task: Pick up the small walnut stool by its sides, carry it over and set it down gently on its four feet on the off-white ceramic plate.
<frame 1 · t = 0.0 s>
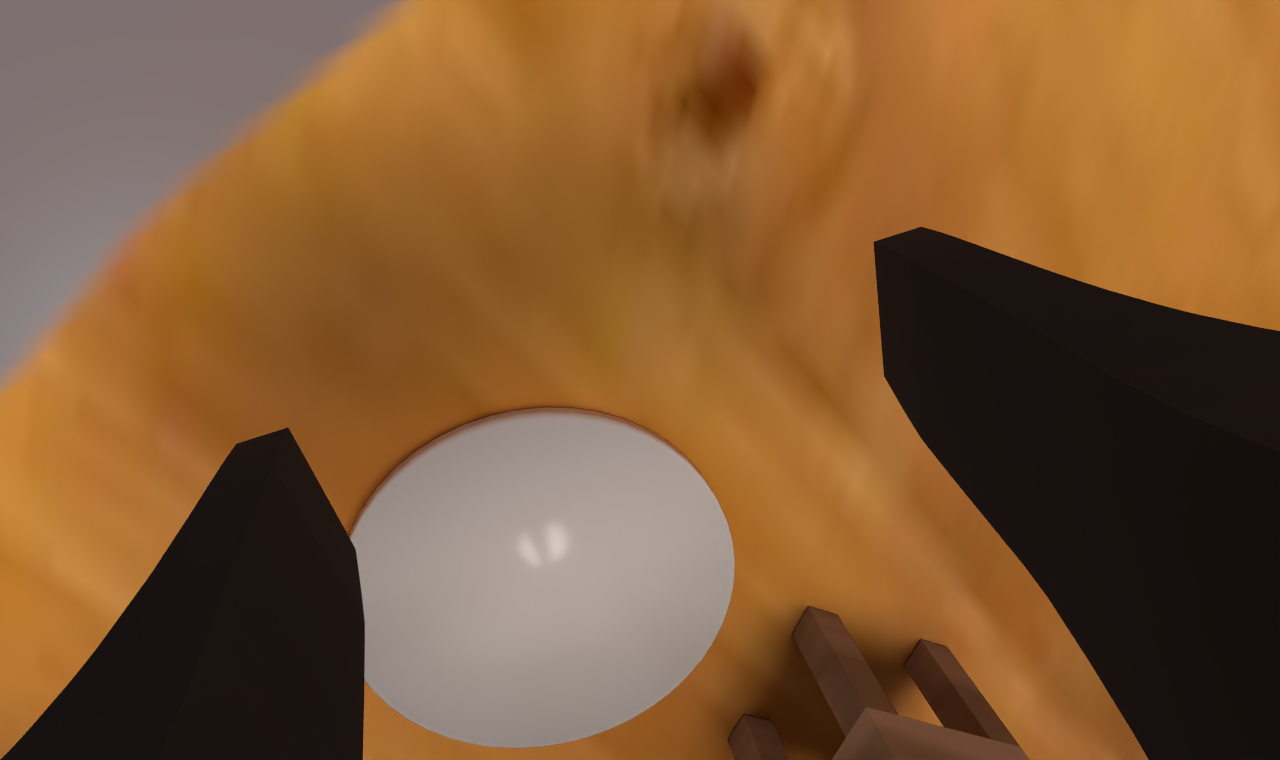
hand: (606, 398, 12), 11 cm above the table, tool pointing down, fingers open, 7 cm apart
plate: (541, 581, 26), on the table
stool: (838, 693, 29), on the table
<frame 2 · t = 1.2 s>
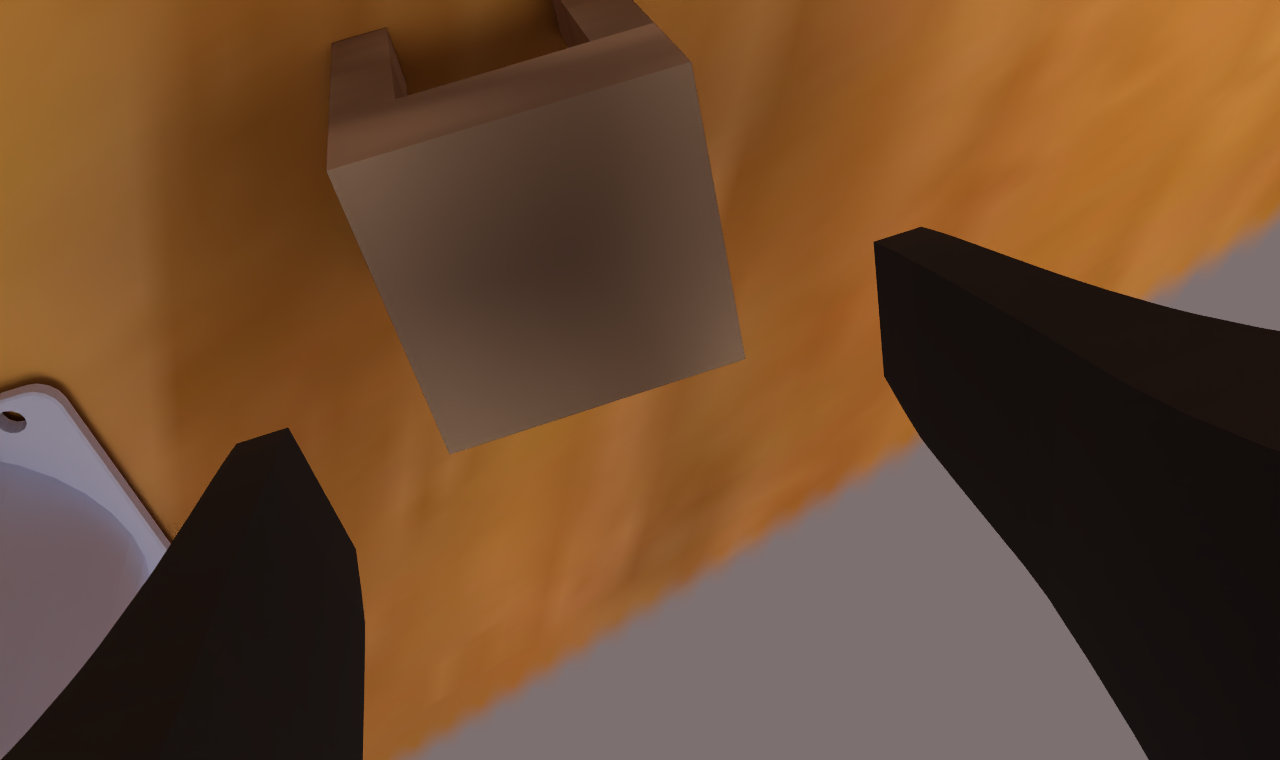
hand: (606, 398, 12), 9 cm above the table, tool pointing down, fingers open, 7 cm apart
stool: (506, 132, 19), on the table
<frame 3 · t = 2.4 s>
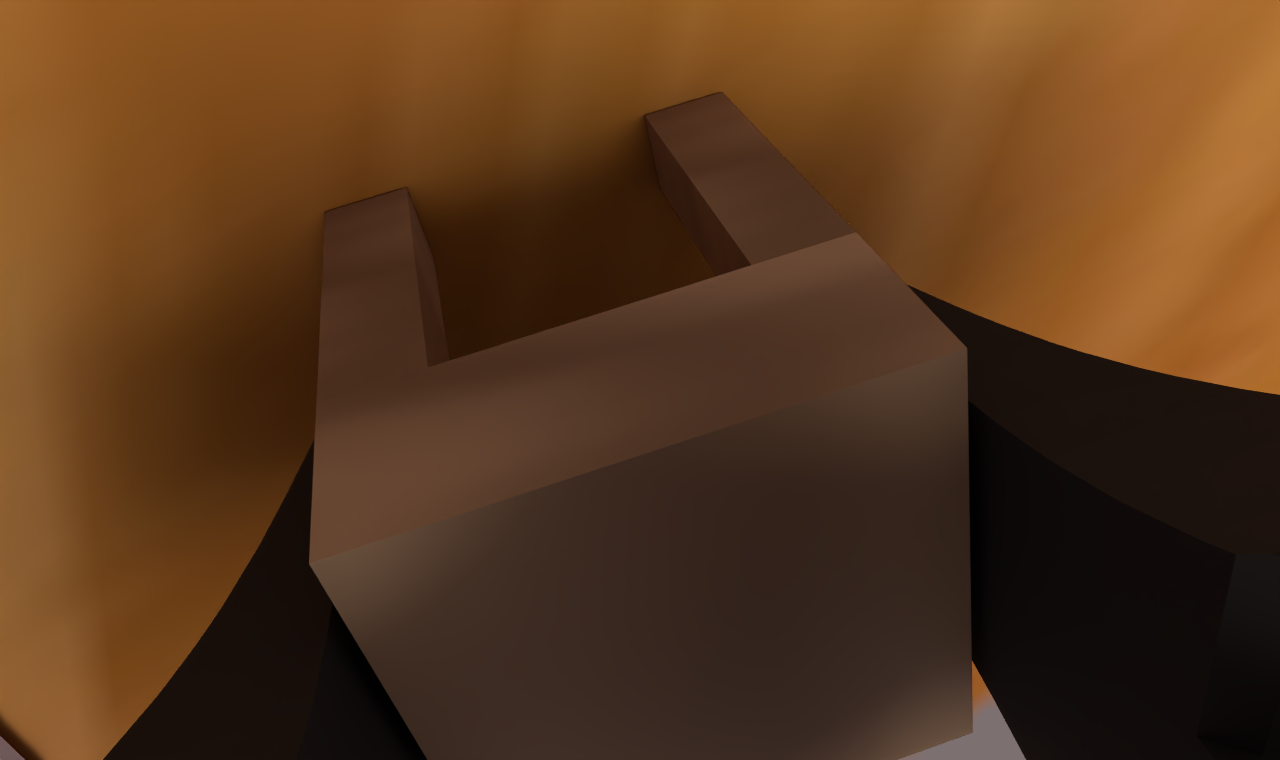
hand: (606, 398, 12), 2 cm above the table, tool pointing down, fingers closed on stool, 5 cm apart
stool: (577, 319, 13), on the table, touching gripper
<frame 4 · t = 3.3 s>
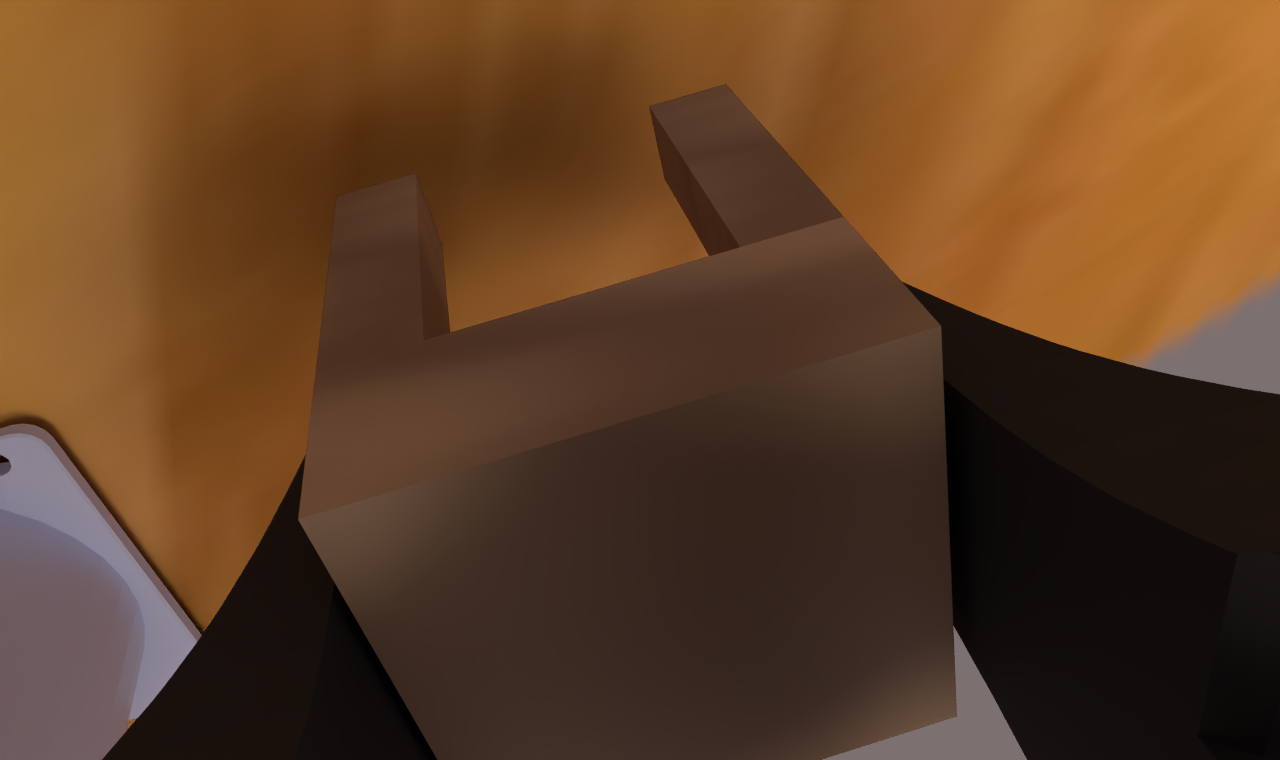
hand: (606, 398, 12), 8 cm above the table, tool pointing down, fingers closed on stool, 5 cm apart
stool: (582, 307, 14), point 5 cm above the table, touching gripper
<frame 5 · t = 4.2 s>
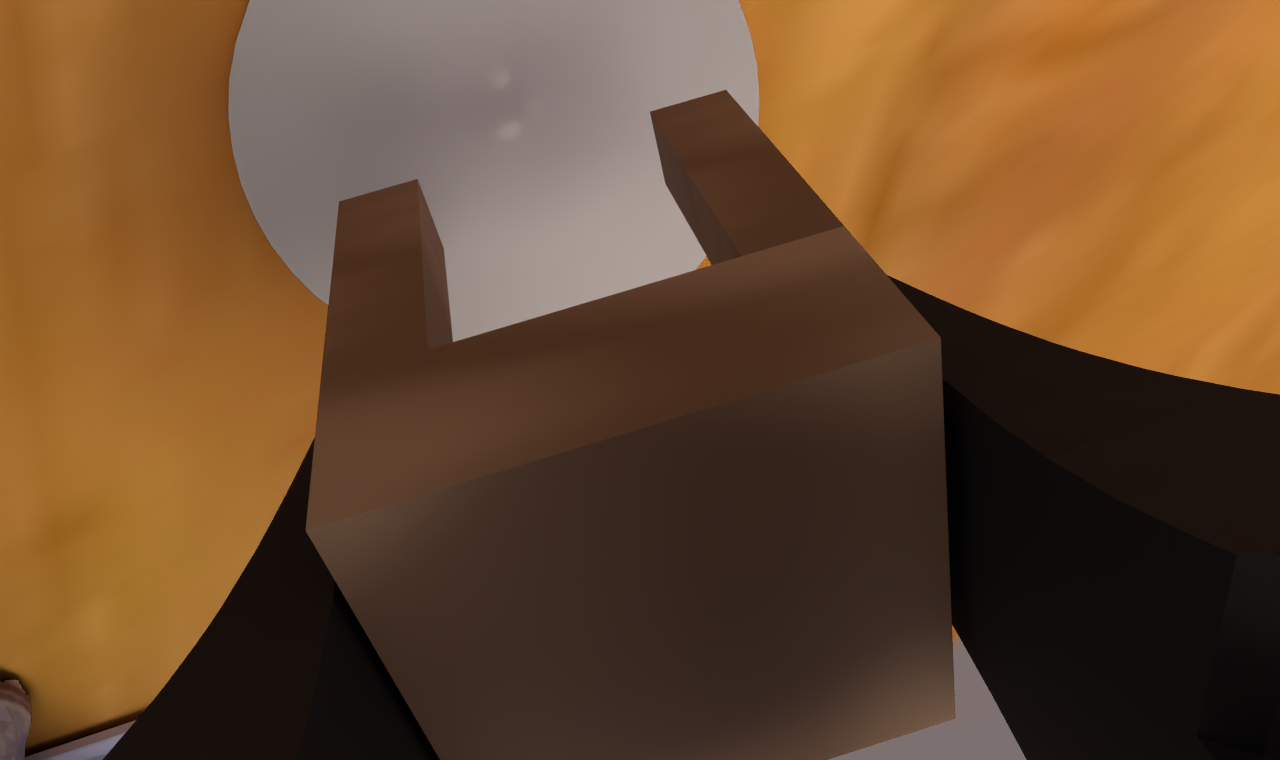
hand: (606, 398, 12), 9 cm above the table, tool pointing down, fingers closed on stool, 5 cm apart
plate: (506, 129, 19), on the table
stool: (583, 310, 14), point 7 cm above the table, touching gripper
when the fingers open (3 cm above the table, at t = 5.8 s): stool stays where it is, resting on plate.
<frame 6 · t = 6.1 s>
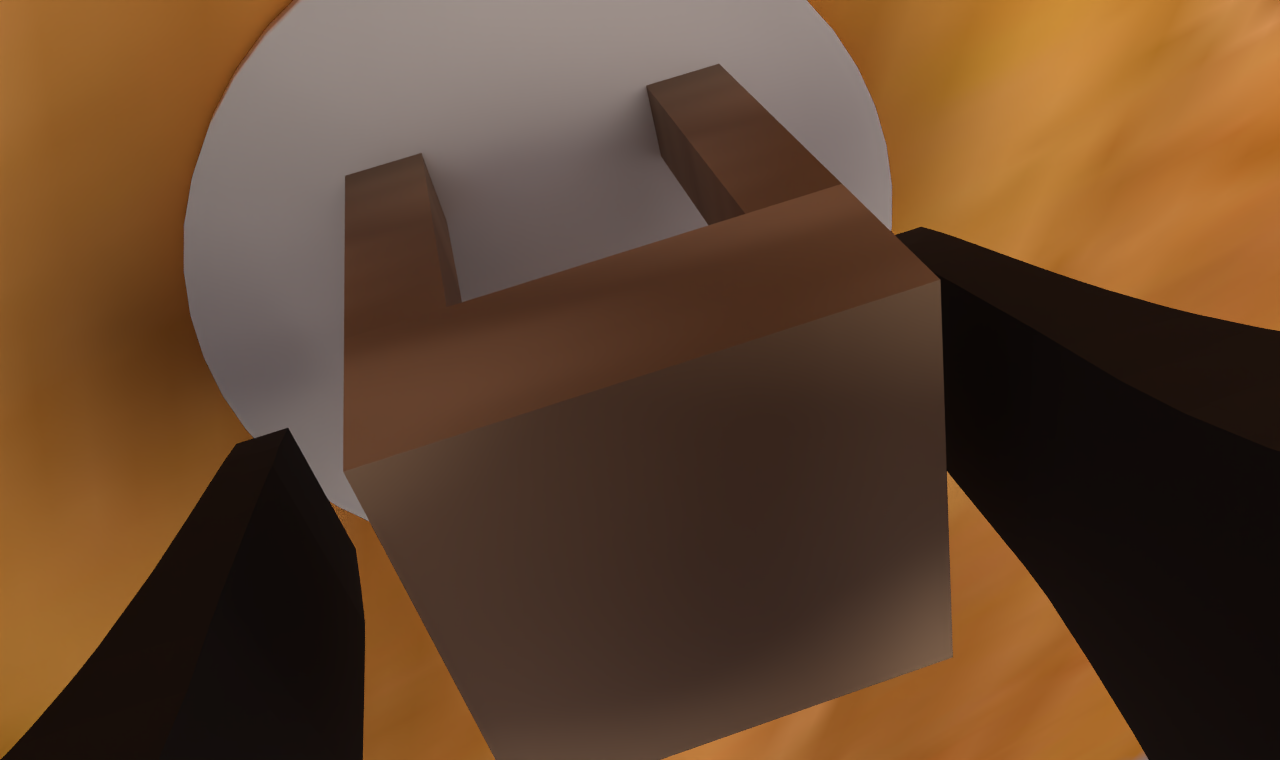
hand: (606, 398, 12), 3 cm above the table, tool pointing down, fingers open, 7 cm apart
plate: (558, 269, 15), on the table
stool: (581, 282, 14), point 1 cm above the table, touching plate
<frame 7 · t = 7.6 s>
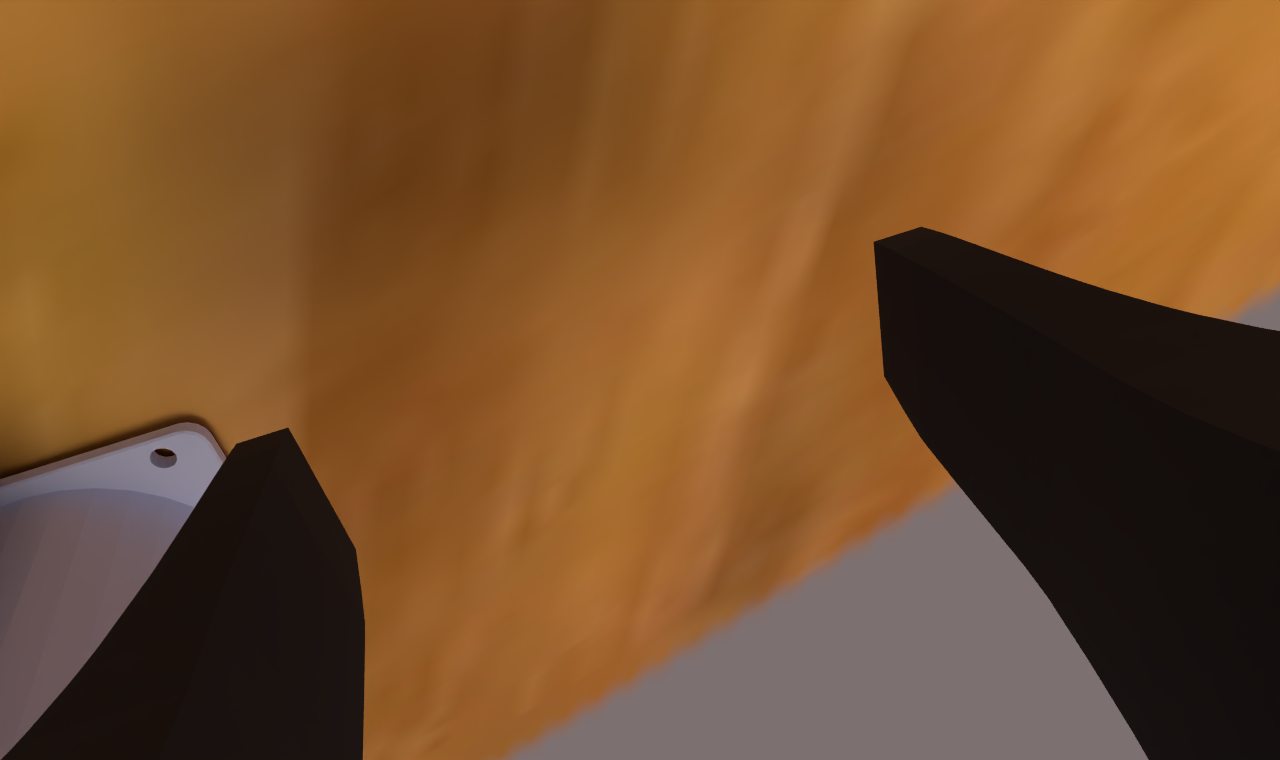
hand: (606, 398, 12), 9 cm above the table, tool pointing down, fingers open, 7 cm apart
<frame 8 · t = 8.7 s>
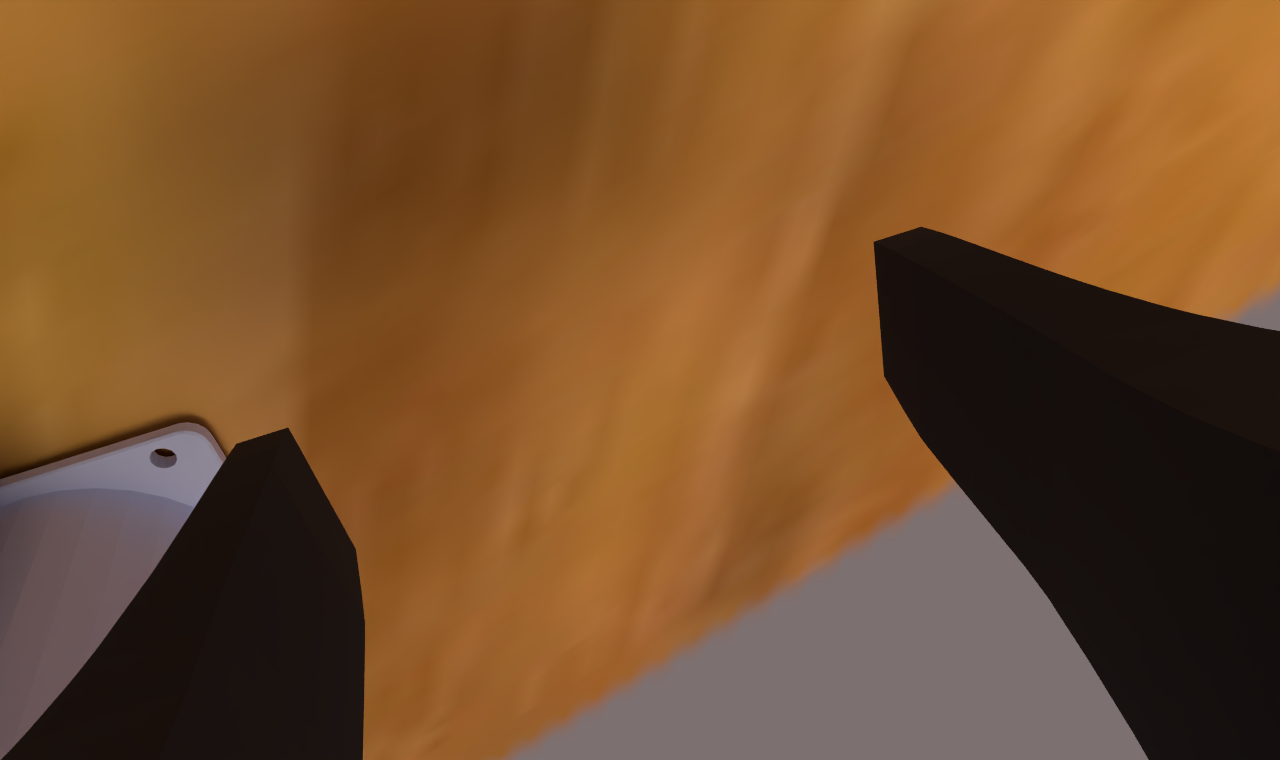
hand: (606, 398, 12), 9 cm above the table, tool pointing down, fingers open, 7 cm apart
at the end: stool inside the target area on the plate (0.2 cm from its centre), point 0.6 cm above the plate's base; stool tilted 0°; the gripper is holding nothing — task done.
